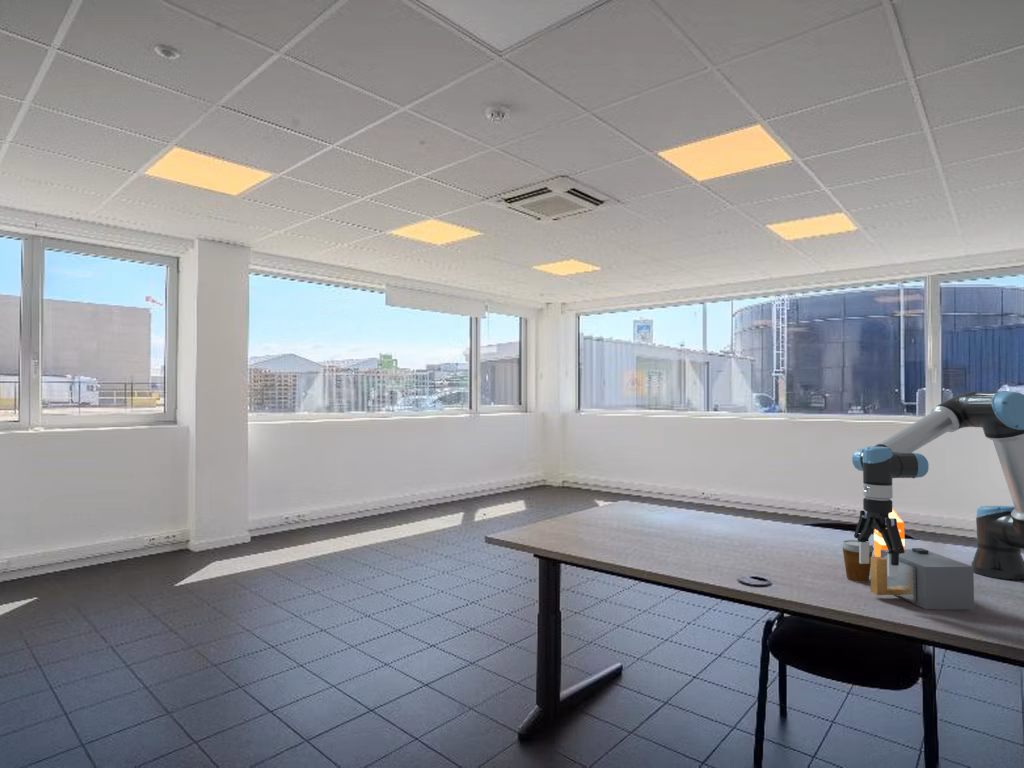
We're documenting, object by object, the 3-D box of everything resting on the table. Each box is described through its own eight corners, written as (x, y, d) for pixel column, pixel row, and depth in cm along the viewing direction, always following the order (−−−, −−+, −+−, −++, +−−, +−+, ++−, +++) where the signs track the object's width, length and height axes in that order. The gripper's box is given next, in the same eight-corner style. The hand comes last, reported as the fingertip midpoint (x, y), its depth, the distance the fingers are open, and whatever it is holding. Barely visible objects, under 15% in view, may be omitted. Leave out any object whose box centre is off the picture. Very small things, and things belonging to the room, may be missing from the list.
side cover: (887, 588, 188) (886, 552, 189) (916, 602, 175) (915, 563, 176) (861, 588, 188) (860, 552, 189) (888, 602, 175) (887, 563, 176)
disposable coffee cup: (837, 579, 201) (836, 542, 201) (846, 573, 208) (846, 538, 208) (869, 585, 194) (869, 547, 194) (878, 579, 201) (877, 543, 201)
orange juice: (896, 556, 230) (895, 503, 230) (905, 562, 221) (904, 507, 222) (873, 555, 232) (872, 502, 232) (881, 561, 223) (880, 506, 224)
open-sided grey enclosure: (924, 587, 192) (923, 546, 193) (974, 609, 172) (973, 563, 173) (880, 587, 192) (880, 546, 192) (925, 609, 172) (924, 563, 172)
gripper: (841, 491, 195) (842, 558, 194) (892, 505, 170) (893, 581, 169) (864, 492, 195) (865, 558, 195) (918, 505, 170) (919, 581, 170)
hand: (878, 569), depth 182 cm, fingers open, 13 cm apart
